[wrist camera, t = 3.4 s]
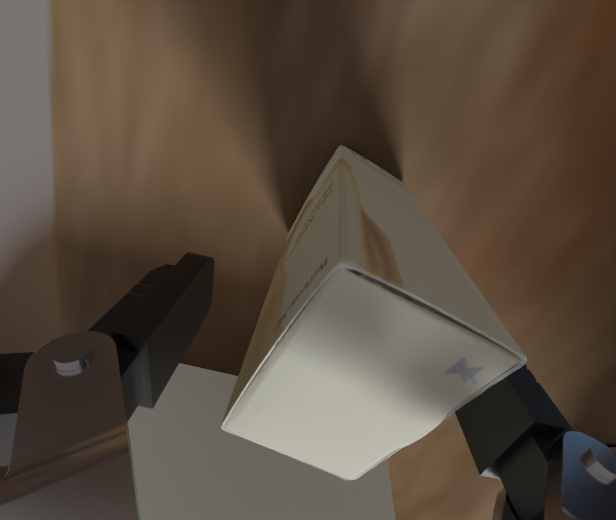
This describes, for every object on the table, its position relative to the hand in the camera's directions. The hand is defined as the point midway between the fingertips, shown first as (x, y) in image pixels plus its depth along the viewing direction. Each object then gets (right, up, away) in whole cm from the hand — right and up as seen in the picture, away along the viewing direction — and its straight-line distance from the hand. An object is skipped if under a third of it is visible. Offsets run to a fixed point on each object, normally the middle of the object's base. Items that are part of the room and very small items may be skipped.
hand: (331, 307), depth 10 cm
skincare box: (+1, +4, +8) cm, 9 cm away
